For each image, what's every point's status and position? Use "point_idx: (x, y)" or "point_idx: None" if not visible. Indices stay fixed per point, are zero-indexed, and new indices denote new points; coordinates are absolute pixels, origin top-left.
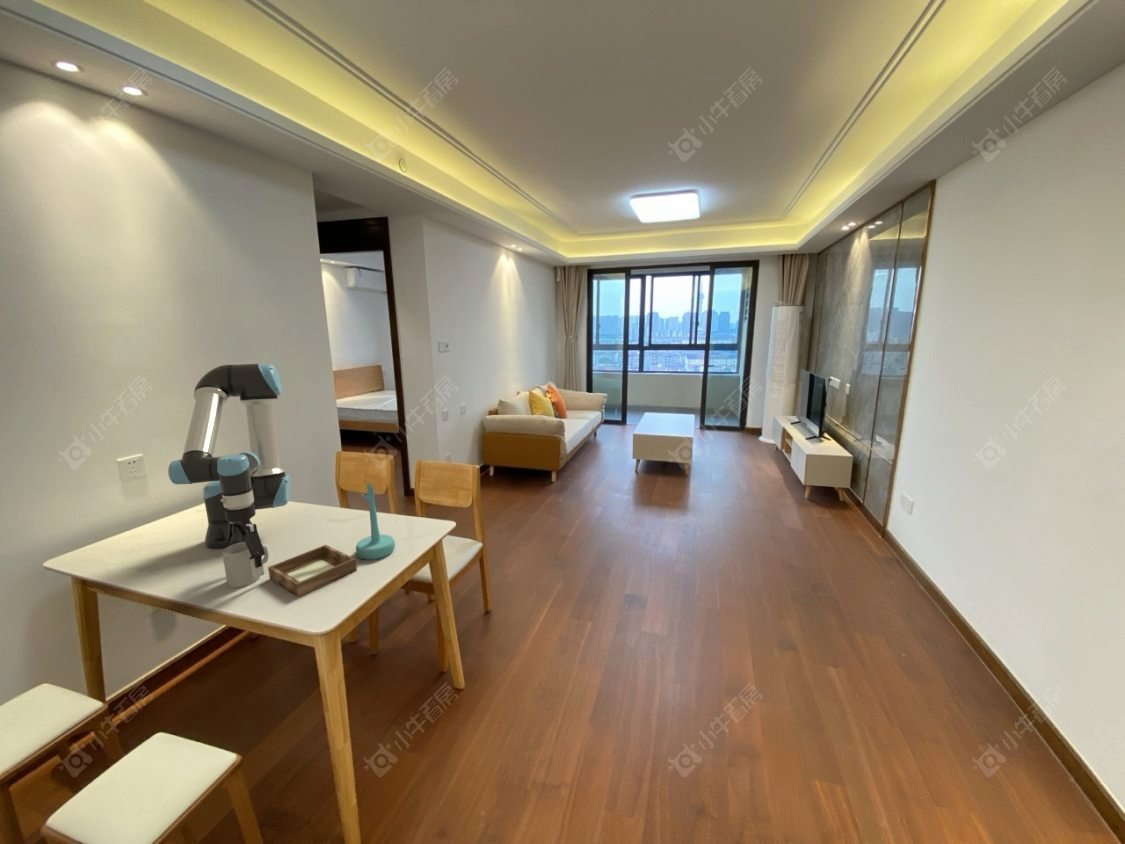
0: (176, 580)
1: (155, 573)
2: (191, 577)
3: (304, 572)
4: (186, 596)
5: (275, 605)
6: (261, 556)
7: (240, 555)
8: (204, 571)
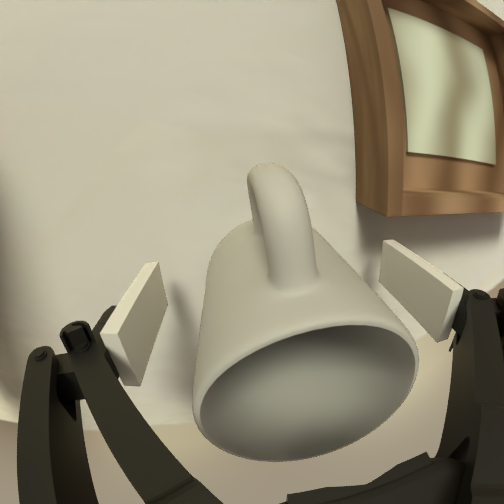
0: None
1: None
2: None
3: (443, 108)
4: None
5: (486, 255)
6: (456, 284)
7: (393, 391)
8: None
